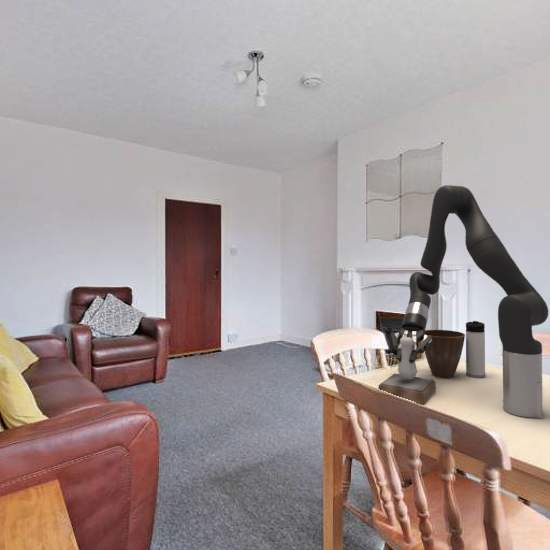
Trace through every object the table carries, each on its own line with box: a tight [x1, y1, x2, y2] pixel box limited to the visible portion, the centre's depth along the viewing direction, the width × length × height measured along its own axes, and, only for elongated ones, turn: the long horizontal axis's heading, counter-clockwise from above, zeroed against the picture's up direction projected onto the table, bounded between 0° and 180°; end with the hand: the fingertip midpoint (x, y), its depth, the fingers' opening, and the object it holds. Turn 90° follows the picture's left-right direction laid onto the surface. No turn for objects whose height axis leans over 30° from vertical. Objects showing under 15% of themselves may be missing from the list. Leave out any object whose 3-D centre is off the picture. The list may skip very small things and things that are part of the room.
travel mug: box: [465, 320, 486, 379], centre depth 137 cm, size 6×7×20 cm
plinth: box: [378, 372, 437, 406], centre depth 120 cm, size 14×14×4 cm
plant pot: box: [422, 329, 466, 379], centre depth 138 cm, size 15×15×16 cm
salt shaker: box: [397, 337, 418, 379], centre depth 120 cm, size 6×6×13 cm
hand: (405, 361), depth 118 cm, fingers closed on salt shaker, 3 cm apart
